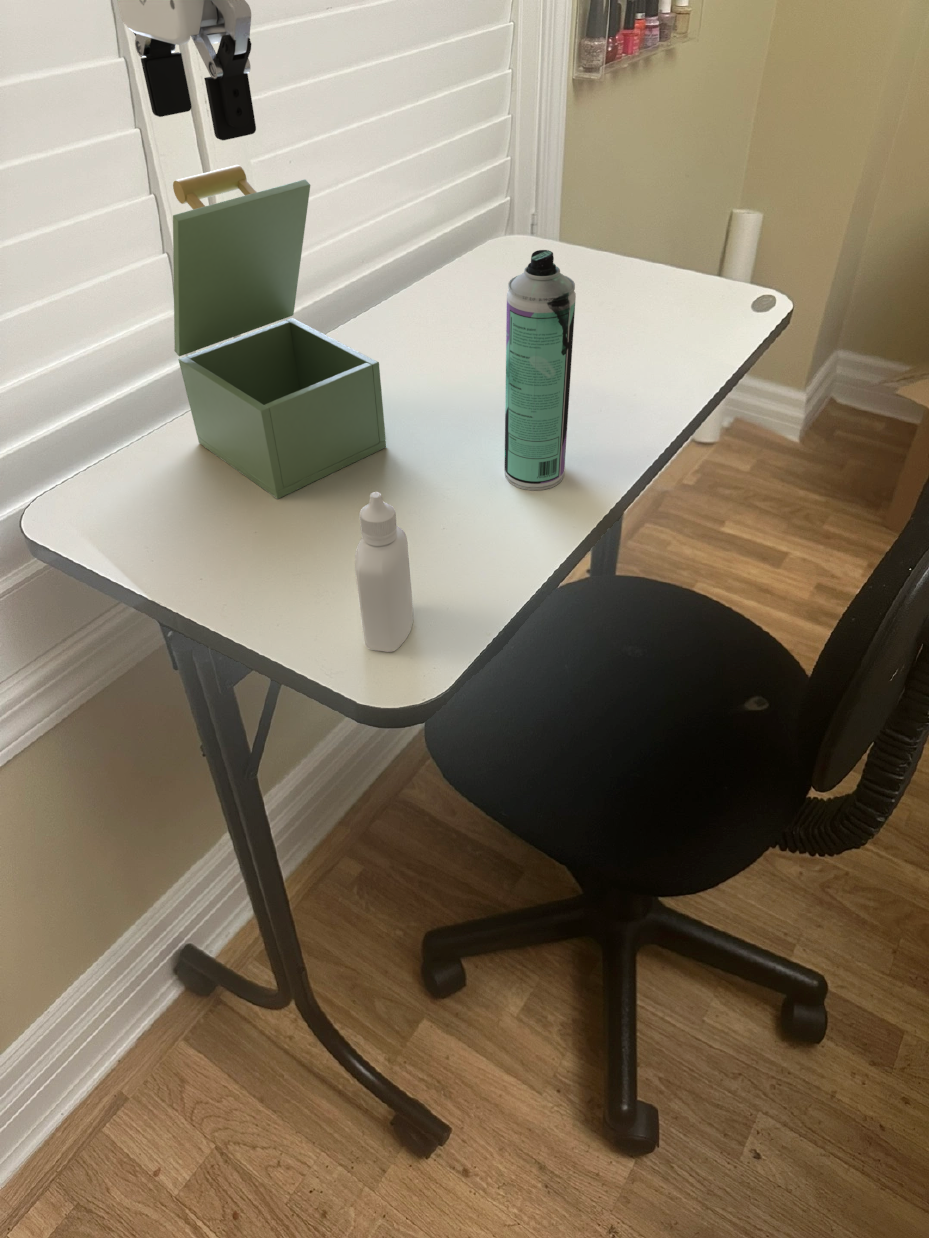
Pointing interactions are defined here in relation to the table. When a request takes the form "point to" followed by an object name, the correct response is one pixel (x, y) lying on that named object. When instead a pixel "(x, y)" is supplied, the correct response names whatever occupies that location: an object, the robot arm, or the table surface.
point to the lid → (234, 257)
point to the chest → (285, 404)
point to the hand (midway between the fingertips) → (203, 124)
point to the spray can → (538, 373)
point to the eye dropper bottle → (383, 577)
